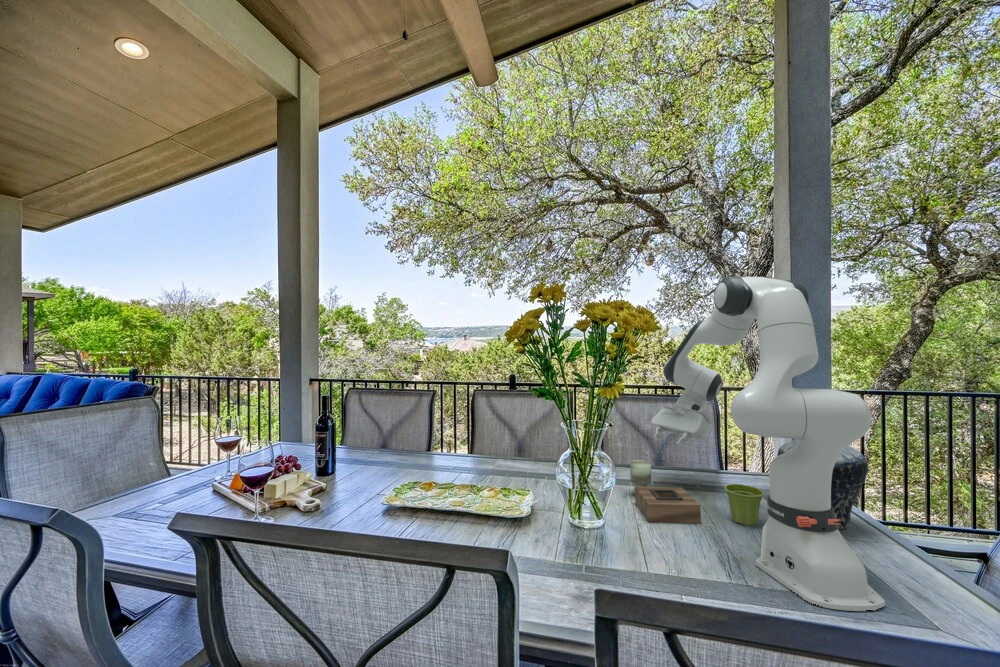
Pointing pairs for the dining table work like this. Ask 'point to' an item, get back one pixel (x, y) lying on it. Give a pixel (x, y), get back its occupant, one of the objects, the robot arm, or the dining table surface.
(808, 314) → the robot arm
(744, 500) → the plant pot
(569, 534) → the dining table surface
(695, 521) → the hole block
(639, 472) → the peg
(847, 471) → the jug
